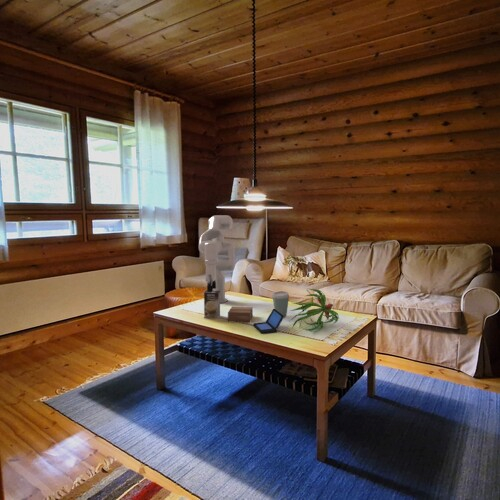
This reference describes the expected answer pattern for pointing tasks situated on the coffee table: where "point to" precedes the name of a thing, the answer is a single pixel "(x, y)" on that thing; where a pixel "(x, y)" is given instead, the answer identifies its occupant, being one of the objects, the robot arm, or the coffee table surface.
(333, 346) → the coffee table surface
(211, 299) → the coffee box
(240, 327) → the coffee table surface
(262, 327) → the handheld game console
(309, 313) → the decorative plant
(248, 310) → the walnut block
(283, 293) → the disposable coffee cup
